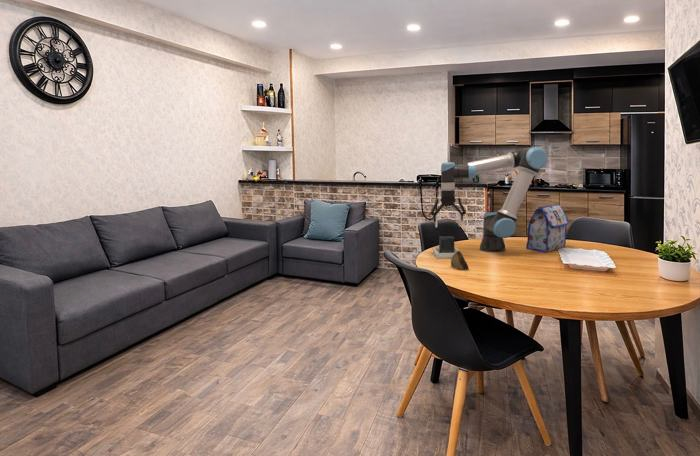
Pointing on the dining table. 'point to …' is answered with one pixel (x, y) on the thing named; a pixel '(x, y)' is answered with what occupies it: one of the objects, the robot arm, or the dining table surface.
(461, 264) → the rock
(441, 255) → the tray
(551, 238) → the lunch bag
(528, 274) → the dining table surface
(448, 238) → the box
